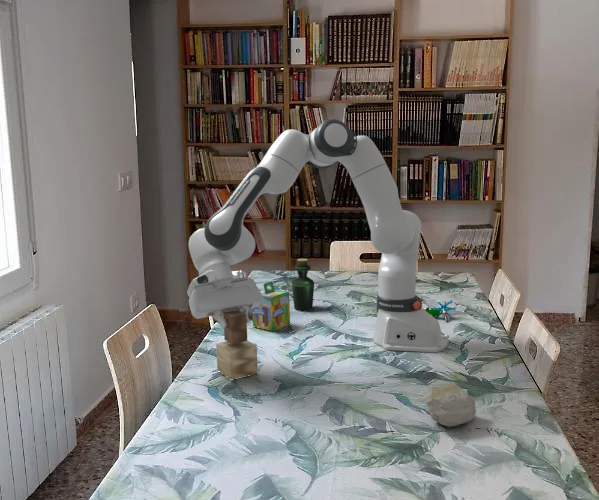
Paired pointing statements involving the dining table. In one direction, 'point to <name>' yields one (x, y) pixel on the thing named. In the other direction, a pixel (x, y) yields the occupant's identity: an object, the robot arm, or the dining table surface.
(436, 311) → the stick construction toy
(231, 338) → the walnut block
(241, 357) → the pale wooden cube
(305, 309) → the potion bottle
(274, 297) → the chalk box
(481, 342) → the dining table surface
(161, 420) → the dining table surface
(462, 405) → the fossil replica
